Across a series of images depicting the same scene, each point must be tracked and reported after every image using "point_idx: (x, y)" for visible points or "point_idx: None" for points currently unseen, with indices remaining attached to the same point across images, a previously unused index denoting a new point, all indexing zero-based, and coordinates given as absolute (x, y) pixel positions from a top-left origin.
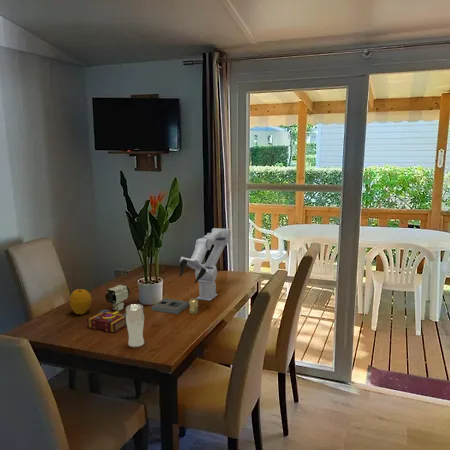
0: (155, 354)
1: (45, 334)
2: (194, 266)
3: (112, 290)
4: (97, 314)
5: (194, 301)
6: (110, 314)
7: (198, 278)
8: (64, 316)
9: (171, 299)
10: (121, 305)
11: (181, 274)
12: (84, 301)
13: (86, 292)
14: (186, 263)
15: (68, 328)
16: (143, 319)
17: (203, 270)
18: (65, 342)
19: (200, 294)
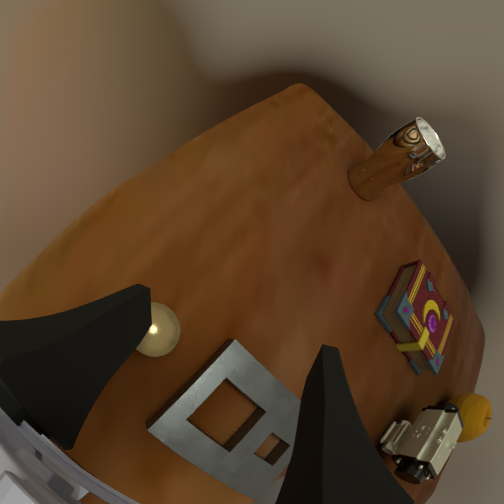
0: (325, 120)
1: (467, 316)
2: (115, 500)
3: (459, 417)
4: (444, 343)
5: (155, 303)
6: (432, 323)
7: (110, 297)
8: None
9: (229, 480)
10: (394, 435)
11: (325, 350)
12: (468, 398)
13: (480, 414)
14: (326, 480)
15: (453, 332)
16: (391, 135)
17: (2, 335)
18: (448, 267)
19: (74, 482)
